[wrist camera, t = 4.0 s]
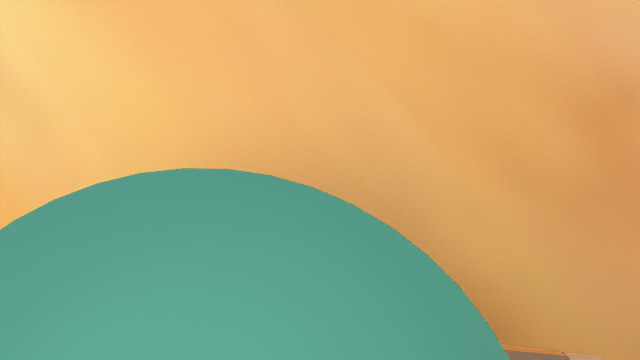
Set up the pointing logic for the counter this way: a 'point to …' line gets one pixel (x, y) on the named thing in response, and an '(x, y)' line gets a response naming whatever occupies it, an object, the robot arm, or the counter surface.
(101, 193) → the marker
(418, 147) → the counter surface
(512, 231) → the counter surface
